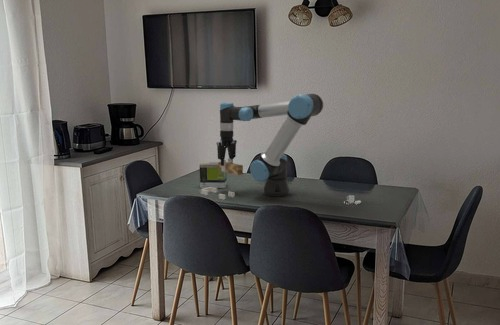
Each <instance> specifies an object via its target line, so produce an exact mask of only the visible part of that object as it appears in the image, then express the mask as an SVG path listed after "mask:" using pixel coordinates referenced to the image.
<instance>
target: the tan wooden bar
mask: <svg viewBox="0 0 500 325" xmlns="http://www.w3.org/2000/svg"><path fill="white" fill-rule="evenodd" d="M217 162H218V171H222V166H221V161H217ZM243 167H244V165H243V164H238V163H234V162H233V163H230V162H228V161H226V171H225V172H227V174H232V175H236V176H240V175H243V172H244V170H243V169H244V168H243ZM223 172H224V171H223Z"/></svg>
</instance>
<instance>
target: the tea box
mask: <svg viewBox="0 0 500 325" xmlns="http://www.w3.org/2000/svg"><path fill="white" fill-rule="evenodd" d="M218 162H219V161H202V162H200V163H199V189H203V188H207V187H213V188H217V189H226V186H227V184H228V183H227V182H228V178H227V174H228V173H227V172H223V171H218Z"/></svg>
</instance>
